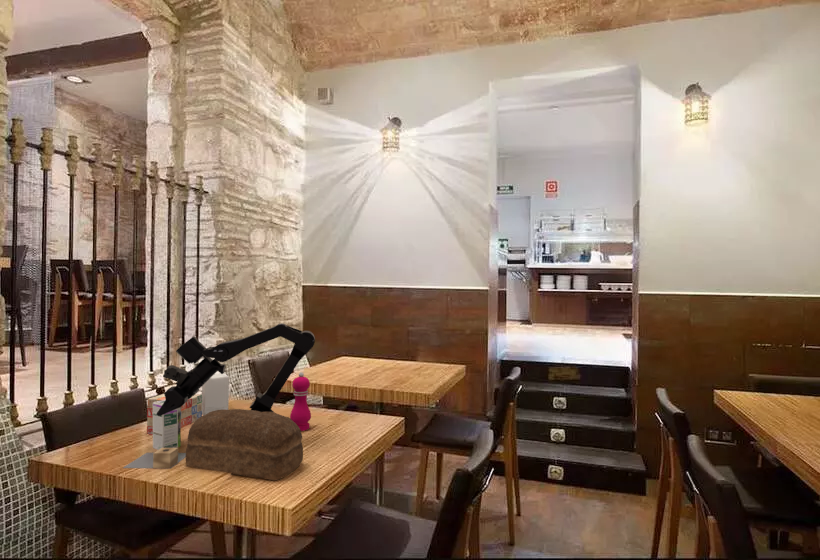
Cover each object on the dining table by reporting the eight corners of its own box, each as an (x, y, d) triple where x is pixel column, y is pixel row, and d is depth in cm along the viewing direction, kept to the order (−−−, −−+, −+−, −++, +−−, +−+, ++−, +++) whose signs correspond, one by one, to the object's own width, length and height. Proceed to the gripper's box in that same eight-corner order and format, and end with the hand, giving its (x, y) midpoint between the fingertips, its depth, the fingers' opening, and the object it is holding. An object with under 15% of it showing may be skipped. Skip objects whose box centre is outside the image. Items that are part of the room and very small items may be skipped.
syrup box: (162, 452, 141) (163, 403, 141) (151, 449, 144) (152, 401, 144) (180, 447, 145) (181, 400, 146) (170, 443, 149) (170, 397, 149)
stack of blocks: (187, 418, 180) (187, 385, 180) (202, 419, 179) (202, 386, 179) (146, 435, 159) (147, 398, 159) (163, 436, 158) (163, 399, 158)
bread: (280, 484, 120) (281, 421, 121) (178, 469, 129) (179, 411, 130) (308, 464, 134) (309, 408, 135) (214, 451, 143) (215, 399, 144)
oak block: (177, 462, 132) (178, 447, 132) (169, 468, 128) (170, 453, 128) (161, 462, 132) (162, 447, 132) (153, 468, 128) (153, 452, 128)
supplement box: (228, 415, 184) (229, 376, 185) (204, 417, 180) (204, 378, 180) (225, 409, 192) (225, 372, 192) (201, 412, 188) (201, 374, 188)
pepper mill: (314, 429, 166) (314, 372, 166) (294, 433, 162) (295, 374, 162) (306, 424, 172) (307, 369, 172) (286, 428, 168) (287, 371, 168)
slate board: (190, 455, 140) (191, 452, 140) (170, 471, 128) (170, 468, 128) (146, 455, 139) (147, 452, 140) (122, 470, 127) (122, 467, 127)
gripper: (189, 352, 155) (152, 387, 153) (172, 361, 137) (129, 401, 134) (214, 375, 156) (178, 410, 154) (201, 387, 138) (159, 427, 136)
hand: (162, 411), depth 144 cm, fingers closed on syrup box, 8 cm apart
